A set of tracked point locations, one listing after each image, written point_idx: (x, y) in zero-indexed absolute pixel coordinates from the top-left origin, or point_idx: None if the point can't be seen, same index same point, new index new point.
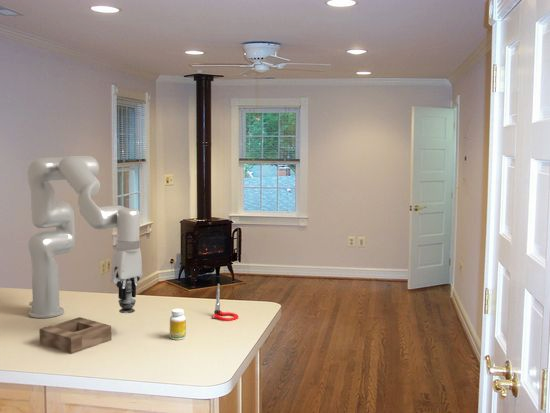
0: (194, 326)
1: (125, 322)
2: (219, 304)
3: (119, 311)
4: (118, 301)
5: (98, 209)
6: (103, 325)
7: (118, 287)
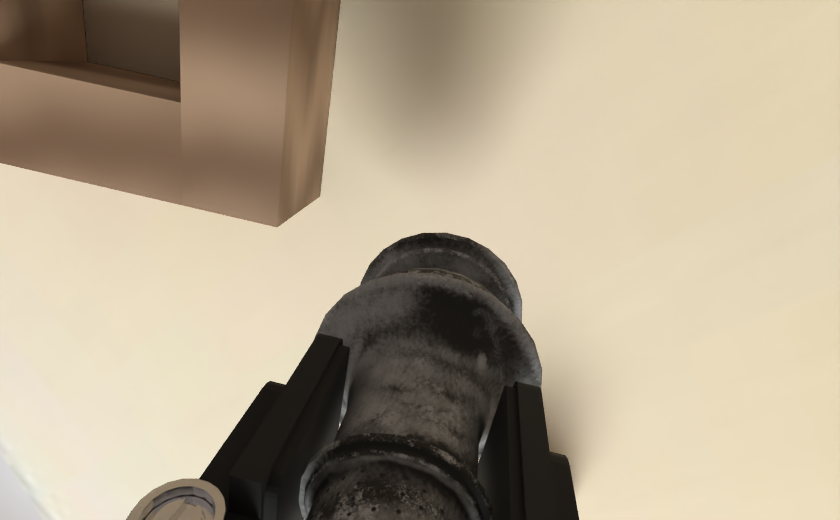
0: (765, 510)
1: (754, 17)
2: None
3: (371, 264)
4: (338, 303)
5: None
6: (245, 167)
7: (171, 508)
